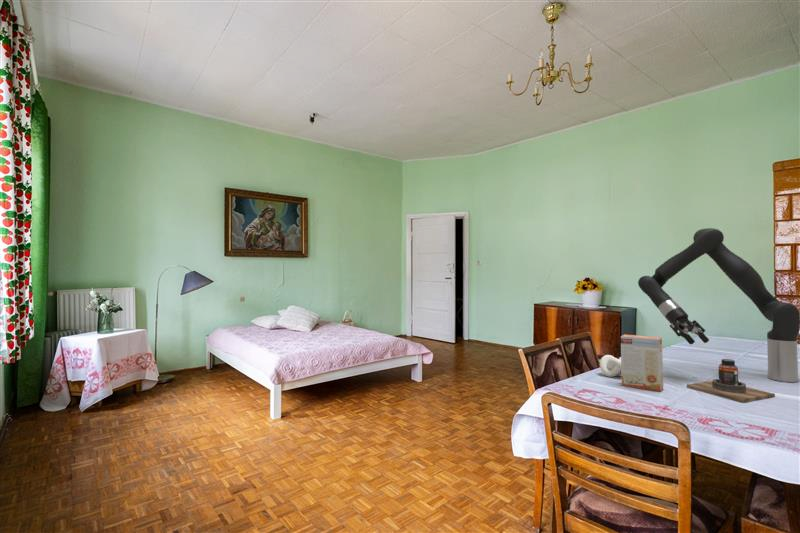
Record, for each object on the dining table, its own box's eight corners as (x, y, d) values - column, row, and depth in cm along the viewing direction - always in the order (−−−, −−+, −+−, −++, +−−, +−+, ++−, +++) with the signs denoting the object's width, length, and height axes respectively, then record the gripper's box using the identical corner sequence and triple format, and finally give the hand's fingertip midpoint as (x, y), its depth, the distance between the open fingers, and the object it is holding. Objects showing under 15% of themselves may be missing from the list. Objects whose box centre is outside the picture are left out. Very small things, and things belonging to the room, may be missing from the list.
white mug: (638, 379, 175) (637, 358, 175) (613, 380, 173) (612, 360, 174) (620, 372, 186) (619, 353, 187) (596, 374, 185) (596, 354, 185)
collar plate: (717, 382, 168) (717, 373, 168) (774, 396, 149) (774, 387, 149) (686, 387, 162) (686, 378, 162) (742, 402, 143) (742, 392, 143)
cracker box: (663, 388, 161) (662, 337, 161) (660, 392, 157) (659, 339, 157) (625, 382, 171) (624, 333, 171) (621, 385, 166) (620, 335, 166)
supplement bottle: (742, 391, 152) (741, 361, 152) (724, 390, 154) (724, 361, 154) (732, 386, 158) (732, 358, 158) (715, 386, 159) (715, 357, 160)
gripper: (666, 307, 172) (694, 338, 161) (690, 306, 176) (718, 336, 166) (655, 318, 177) (681, 349, 166) (678, 316, 181) (705, 346, 170)
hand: (700, 342), depth 166 cm, fingers open, 8 cm apart
